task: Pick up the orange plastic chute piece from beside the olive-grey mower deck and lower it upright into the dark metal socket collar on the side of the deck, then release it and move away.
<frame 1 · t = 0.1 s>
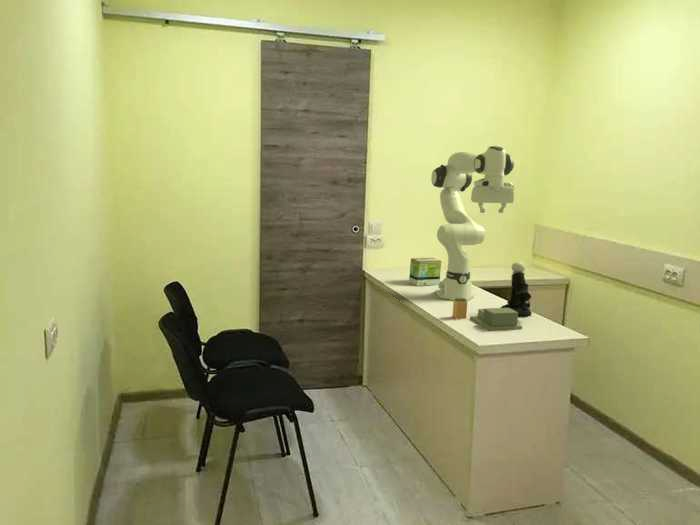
hand: (491, 212, 270), 48 cm above the countertop, tool pointing down, fingers open, 8 cm apart
deck: (495, 323, 262), on the countertop
sculpture: (517, 315, 277), on the countertop
tea box: (424, 284, 340), on the countertop
chute piece: (459, 317, 270), on the countertop
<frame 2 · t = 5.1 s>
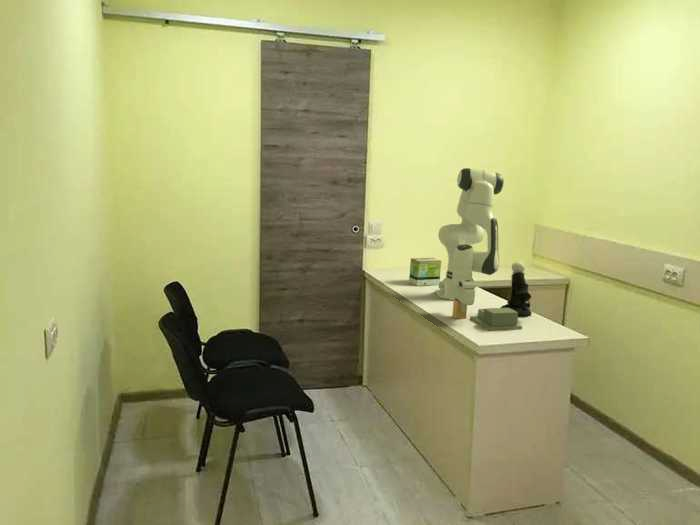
hand: (459, 309, 270), 4 cm above the countertop, tool pointing down, fingers closed on chute piece, 4 cm apart
chute piece: (459, 317, 270), on the countertop, touching gripper
everything else where it was.
when the fingers open (6 cm above the countertop, at t = 11.6 s): chute piece drops 1 cm, resting on deck.
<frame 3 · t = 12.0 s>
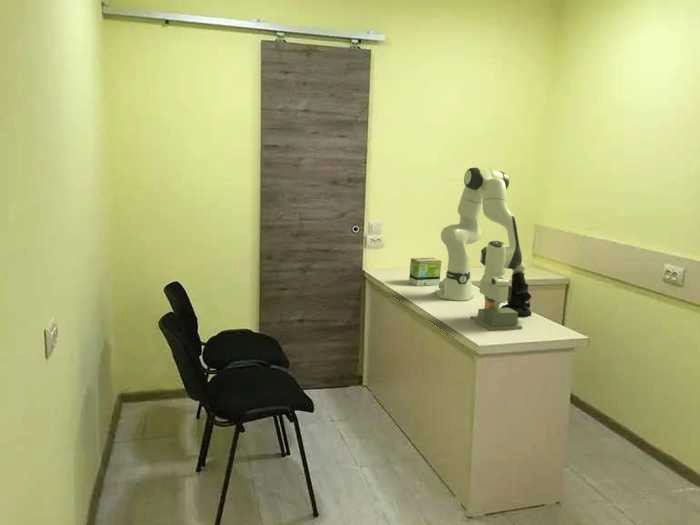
hand: (491, 307, 265), 6 cm above the countertop, tool pointing down, fingers open, 6 cm apart
chute piece: (490, 318, 266), point 1 cm above the countertop, touching deck
everything else where it was.
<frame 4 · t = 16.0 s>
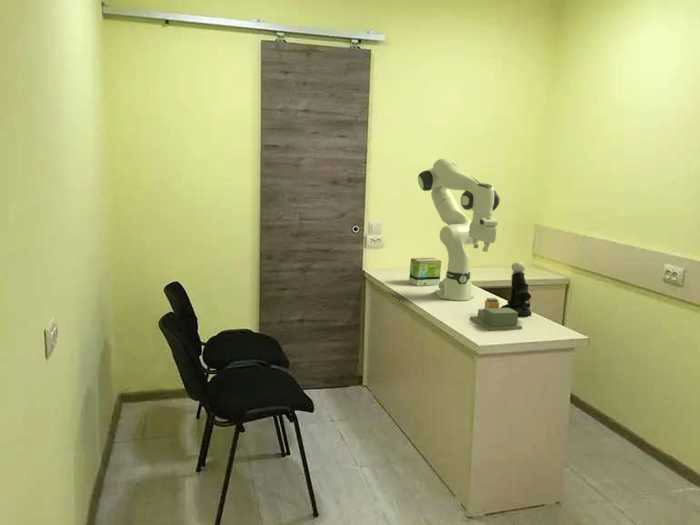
hand: (480, 249, 269), 31 cm above the countertop, tool pointing down, fingers open, 8 cm apart
nothing on the countertop moved.
at the end: chute piece 0.1 cm from the target spot on the deck, point 1.2 cm above the deck's base; chute piece tilted 0°; the gripper is holding nothing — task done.
